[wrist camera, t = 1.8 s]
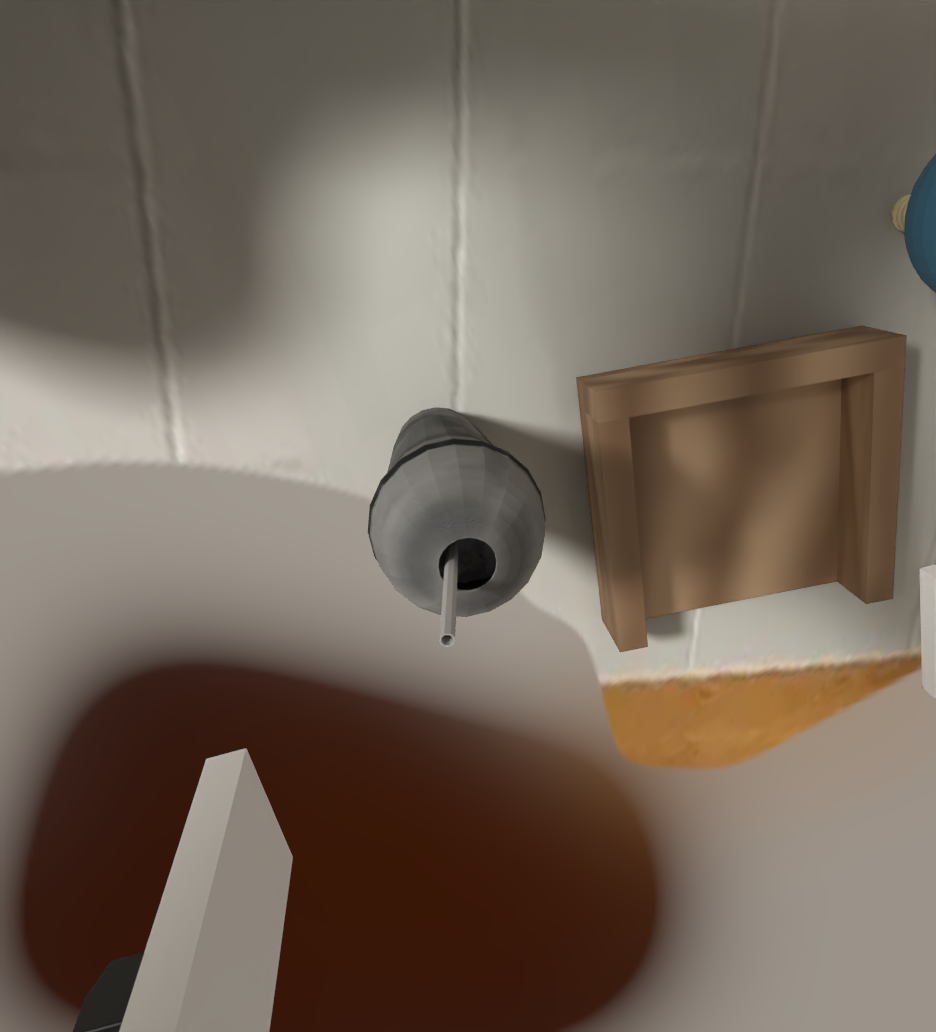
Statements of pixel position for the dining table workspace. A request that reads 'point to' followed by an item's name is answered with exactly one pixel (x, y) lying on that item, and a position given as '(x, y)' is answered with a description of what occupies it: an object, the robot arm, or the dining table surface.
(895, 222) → the light bulb
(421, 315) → the dining table surface
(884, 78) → the dining table surface
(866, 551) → the u rest
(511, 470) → the beverage cup
